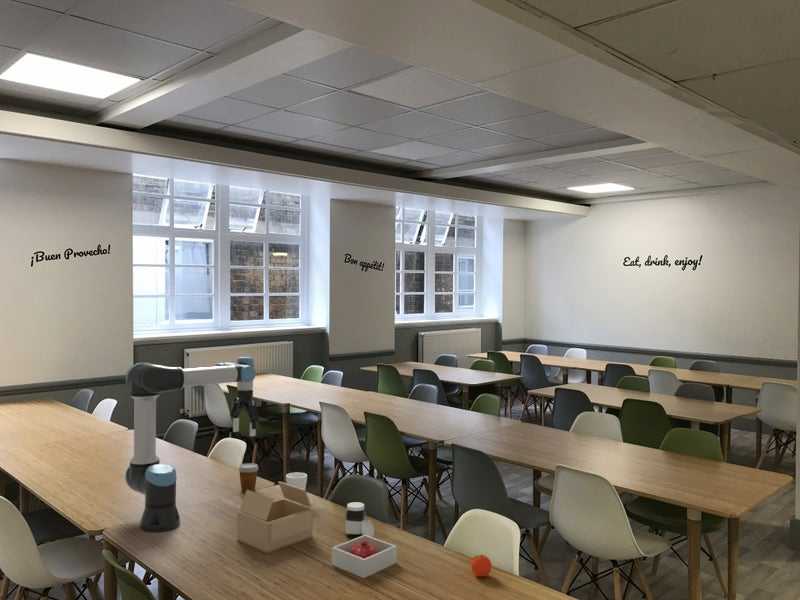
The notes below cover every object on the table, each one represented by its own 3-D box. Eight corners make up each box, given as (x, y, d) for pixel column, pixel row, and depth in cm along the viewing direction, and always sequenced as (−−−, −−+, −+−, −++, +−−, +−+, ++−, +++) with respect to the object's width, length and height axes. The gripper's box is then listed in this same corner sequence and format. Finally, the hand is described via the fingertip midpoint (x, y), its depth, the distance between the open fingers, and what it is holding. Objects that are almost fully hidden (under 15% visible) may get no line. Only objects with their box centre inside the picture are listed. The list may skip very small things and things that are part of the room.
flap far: (304, 490, 242) (305, 489, 242) (278, 481, 252) (279, 481, 252) (310, 507, 244) (311, 506, 244) (284, 498, 255) (285, 497, 255)
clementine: (465, 577, 210) (465, 556, 210) (470, 569, 217) (470, 549, 217) (488, 581, 207) (489, 560, 207) (493, 573, 214) (493, 552, 214)
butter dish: (353, 574, 212) (354, 549, 212) (342, 561, 223) (343, 537, 223) (385, 568, 217) (385, 544, 217) (373, 556, 227) (373, 532, 227)
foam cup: (302, 508, 277) (302, 479, 277) (282, 506, 279) (282, 477, 279) (309, 501, 286) (309, 473, 286) (290, 499, 288) (290, 471, 288)
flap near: (266, 520, 228) (265, 520, 228) (240, 510, 238) (239, 510, 238) (274, 498, 231) (273, 498, 230) (248, 489, 241) (247, 489, 241)
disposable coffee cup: (238, 494, 295) (238, 468, 295) (237, 488, 304) (238, 463, 304) (258, 492, 298) (259, 467, 298) (257, 487, 307) (258, 462, 307)
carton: (267, 554, 227) (268, 523, 227) (236, 540, 239) (237, 511, 239) (313, 537, 243) (313, 509, 243) (282, 525, 256) (282, 498, 256)
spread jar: (347, 529, 253) (347, 500, 253) (374, 530, 252) (375, 501, 252) (343, 540, 241) (343, 510, 241) (372, 541, 240) (373, 511, 240)
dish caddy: (363, 578, 208) (364, 560, 208) (331, 564, 219) (332, 547, 219) (396, 562, 221) (396, 546, 221) (364, 550, 231) (365, 534, 231)
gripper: (267, 391, 293) (266, 436, 293) (236, 385, 309) (235, 428, 309) (253, 392, 287) (253, 439, 287) (223, 387, 304) (222, 430, 304)
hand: (244, 433), depth 298 cm, fingers open, 13 cm apart
